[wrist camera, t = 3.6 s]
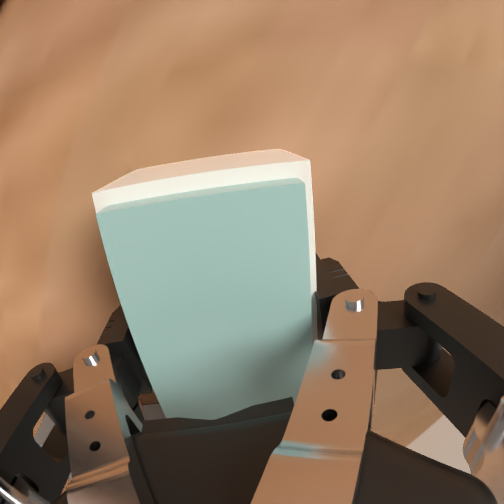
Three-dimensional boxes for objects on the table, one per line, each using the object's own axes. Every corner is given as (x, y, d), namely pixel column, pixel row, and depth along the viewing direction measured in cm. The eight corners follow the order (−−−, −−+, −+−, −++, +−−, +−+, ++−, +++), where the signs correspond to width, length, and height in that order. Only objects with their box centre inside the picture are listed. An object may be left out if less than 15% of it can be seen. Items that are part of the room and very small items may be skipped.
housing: (280, 148, 12) (318, 163, 7) (295, 360, 15) (319, 443, 11) (135, 169, 11) (79, 199, 7) (186, 373, 15) (177, 458, 10)
